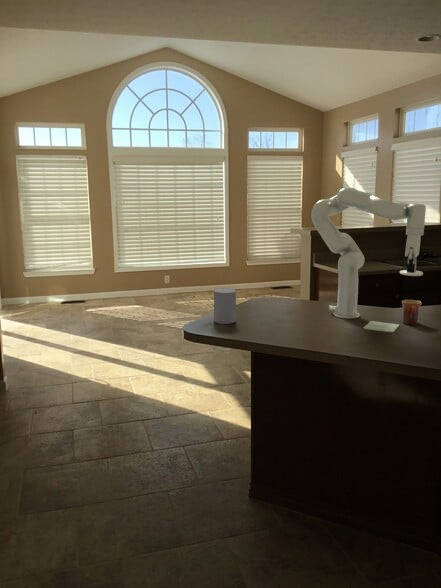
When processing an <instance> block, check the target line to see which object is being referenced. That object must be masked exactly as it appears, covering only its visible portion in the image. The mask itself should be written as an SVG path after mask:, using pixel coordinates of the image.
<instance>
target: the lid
mask: <svg viewBox="0 0 441 588" xmlns="http://www.w3.org/2000/svg"><path fill="white" fill-rule="evenodd" d="M414 264H415V269H414V273H412V272H407V269H403V270H402V269H401V270H400V271H399V274H400V275H403V276H410V277H421V276H423V275H424V272H423V271H420V270H417V260H416V261H415V262H414Z"/></svg>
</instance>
